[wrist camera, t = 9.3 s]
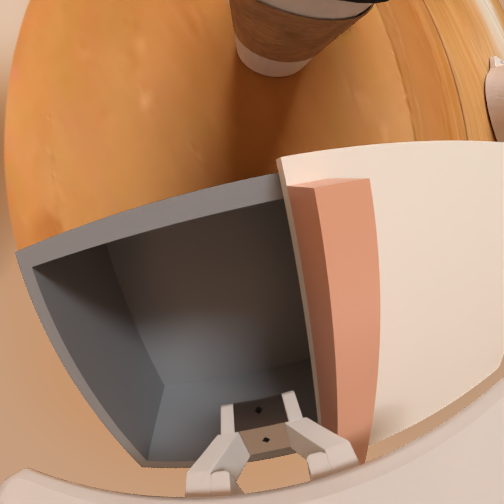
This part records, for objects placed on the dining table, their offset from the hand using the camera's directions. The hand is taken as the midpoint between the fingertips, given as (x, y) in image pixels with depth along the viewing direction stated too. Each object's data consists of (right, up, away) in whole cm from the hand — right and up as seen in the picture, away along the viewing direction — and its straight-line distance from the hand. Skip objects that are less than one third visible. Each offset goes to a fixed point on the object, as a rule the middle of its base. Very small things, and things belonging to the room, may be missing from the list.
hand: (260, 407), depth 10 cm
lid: (+11, +3, +2) cm, 11 cm away
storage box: (-3, +3, +12) cm, 13 cm away
